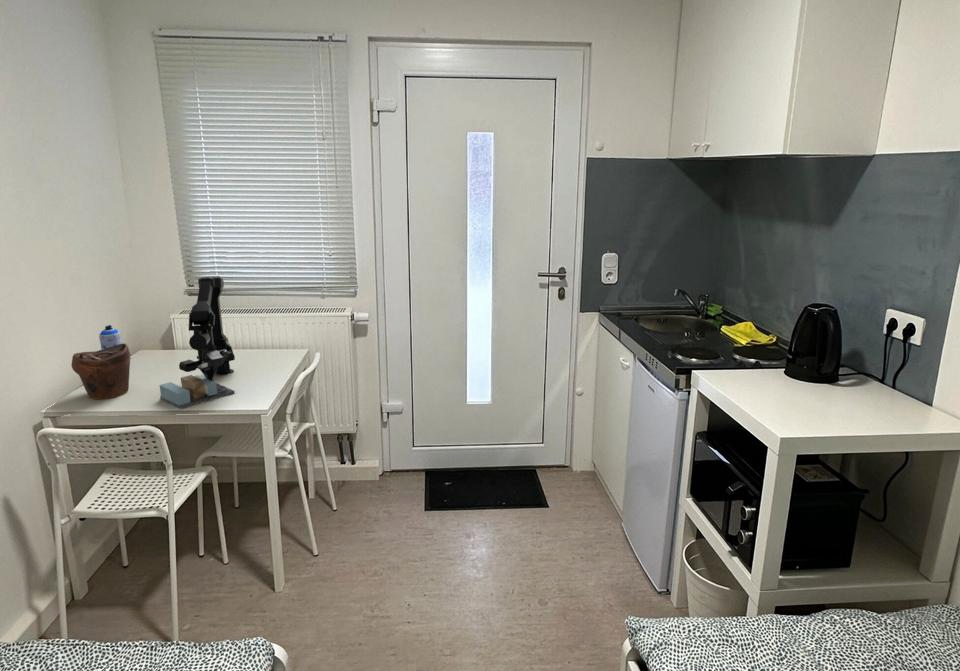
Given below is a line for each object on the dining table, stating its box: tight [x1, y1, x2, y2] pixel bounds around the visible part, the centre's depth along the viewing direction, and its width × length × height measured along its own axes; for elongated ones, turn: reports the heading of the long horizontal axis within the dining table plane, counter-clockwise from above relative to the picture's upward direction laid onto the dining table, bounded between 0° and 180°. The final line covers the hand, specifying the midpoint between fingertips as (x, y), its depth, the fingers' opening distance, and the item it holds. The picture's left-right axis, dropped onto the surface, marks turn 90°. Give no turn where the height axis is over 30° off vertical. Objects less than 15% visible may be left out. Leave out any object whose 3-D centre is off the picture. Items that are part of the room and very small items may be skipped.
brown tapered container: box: [71, 342, 132, 400], centre depth 231 cm, size 18×20×18 cm
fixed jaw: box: [158, 381, 190, 406], centre depth 223 cm, size 14×4×4 cm, turn 50°
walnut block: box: [180, 374, 205, 399], centre depth 228 cm, size 4×9×6 cm, turn 50°
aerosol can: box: [98, 324, 123, 350], centre depth 255 cm, size 8×8×20 cm
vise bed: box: [159, 382, 235, 410], centre depth 230 cm, size 16×20×1 cm
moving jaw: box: [194, 374, 217, 396], centre depth 231 cm, size 14×3×4 cm, turn 50°
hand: (210, 382), depth 233 cm, fingers closed
